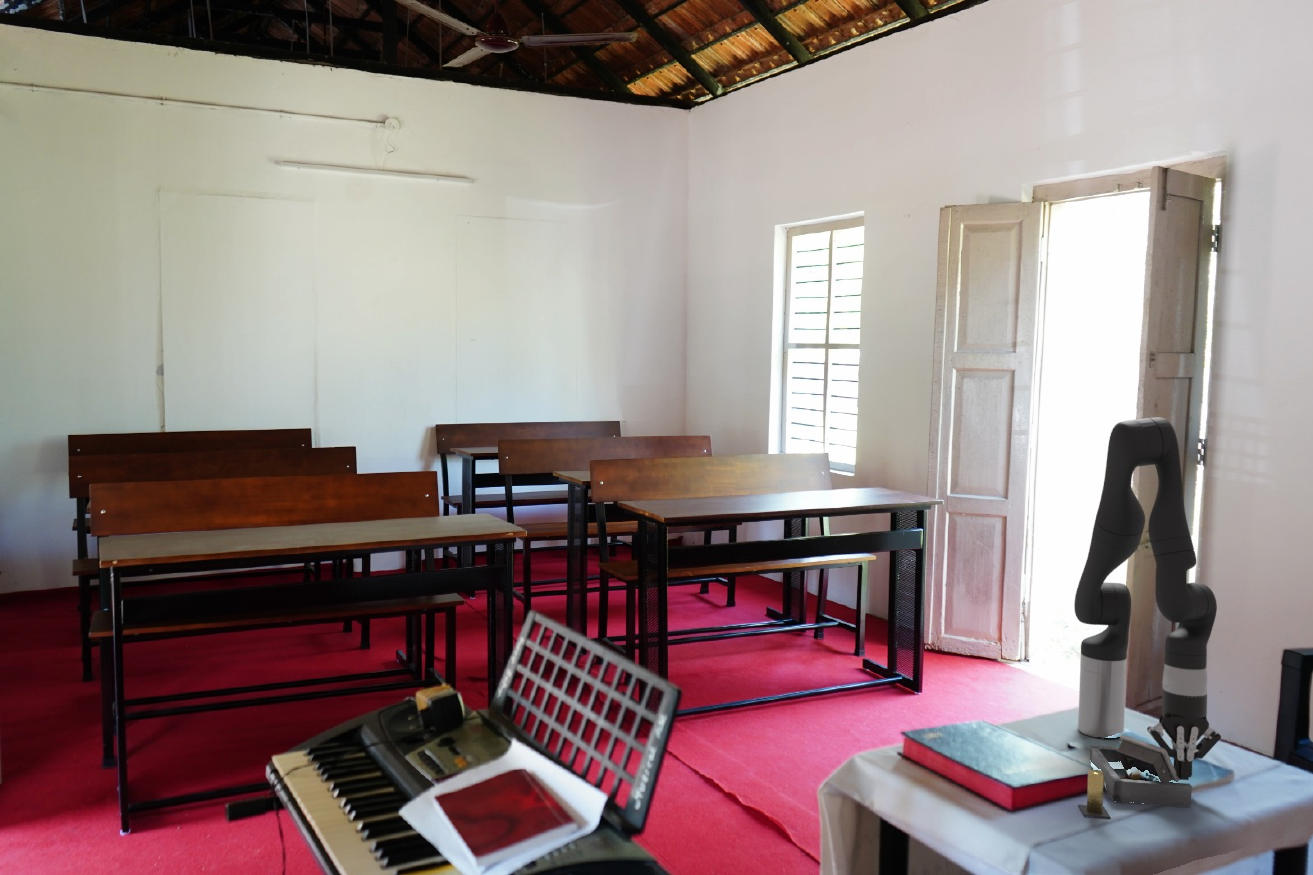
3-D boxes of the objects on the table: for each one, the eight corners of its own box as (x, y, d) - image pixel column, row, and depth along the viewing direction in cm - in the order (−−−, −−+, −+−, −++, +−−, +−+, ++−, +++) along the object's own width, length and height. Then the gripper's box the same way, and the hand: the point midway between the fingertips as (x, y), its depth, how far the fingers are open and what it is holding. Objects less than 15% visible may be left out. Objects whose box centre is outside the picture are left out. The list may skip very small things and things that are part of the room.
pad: (1078, 806, 184) (1078, 804, 184) (1103, 808, 183) (1103, 806, 183) (1084, 816, 179) (1084, 815, 179) (1110, 818, 178) (1110, 817, 178)
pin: (1085, 806, 183) (1086, 769, 182) (1100, 808, 182) (1101, 770, 182) (1088, 813, 180) (1090, 775, 180) (1104, 814, 180) (1105, 776, 179)
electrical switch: (1181, 783, 191) (1171, 743, 189) (1166, 799, 189) (1155, 759, 186) (1135, 766, 199) (1125, 728, 197) (1120, 782, 197) (1110, 743, 194)
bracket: (1089, 765, 203) (1090, 746, 202) (1159, 770, 200) (1160, 750, 200) (1114, 802, 185) (1114, 780, 185) (1190, 807, 183) (1191, 786, 183)
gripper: (1154, 692, 187) (1152, 784, 188) (1230, 696, 185) (1228, 788, 186) (1141, 681, 195) (1139, 769, 195) (1214, 684, 193) (1212, 773, 193)
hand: (1182, 778), depth 191 cm, fingers closed
